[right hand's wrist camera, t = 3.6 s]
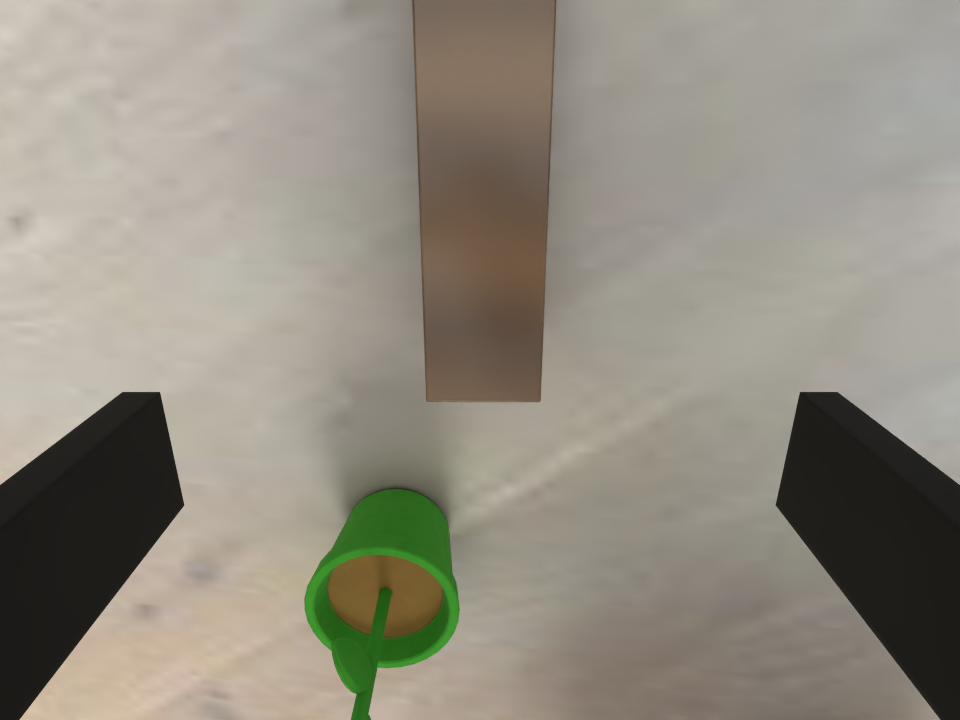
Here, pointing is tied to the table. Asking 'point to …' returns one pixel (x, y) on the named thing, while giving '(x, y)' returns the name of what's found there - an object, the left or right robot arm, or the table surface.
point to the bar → (483, 193)
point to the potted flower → (384, 590)
